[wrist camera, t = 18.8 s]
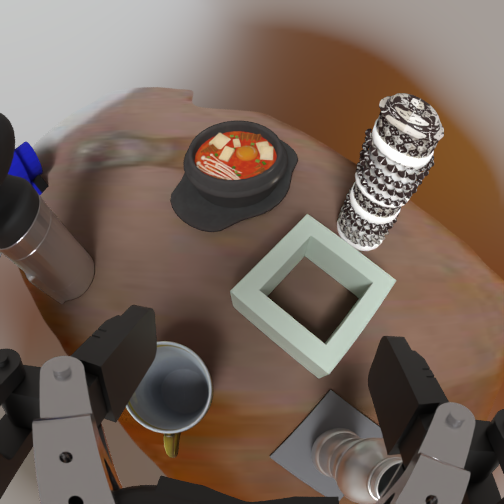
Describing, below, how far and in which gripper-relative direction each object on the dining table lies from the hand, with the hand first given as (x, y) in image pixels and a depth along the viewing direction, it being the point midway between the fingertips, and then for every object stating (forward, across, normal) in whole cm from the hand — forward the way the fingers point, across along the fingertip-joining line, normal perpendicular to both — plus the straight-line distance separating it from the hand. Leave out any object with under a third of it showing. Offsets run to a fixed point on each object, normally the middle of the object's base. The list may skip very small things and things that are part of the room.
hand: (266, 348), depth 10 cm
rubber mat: (+16, +11, -27) cm, 33 cm away
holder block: (+31, +6, -13) cm, 34 cm away
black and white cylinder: (+40, +14, -3) cm, 43 cm away
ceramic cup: (+19, -9, -24) cm, 32 cm away
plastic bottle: (+16, +11, -27) cm, 33 cm away
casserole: (+45, -8, +2) cm, 46 cm away
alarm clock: (+43, -57, -1) cm, 71 cm away
